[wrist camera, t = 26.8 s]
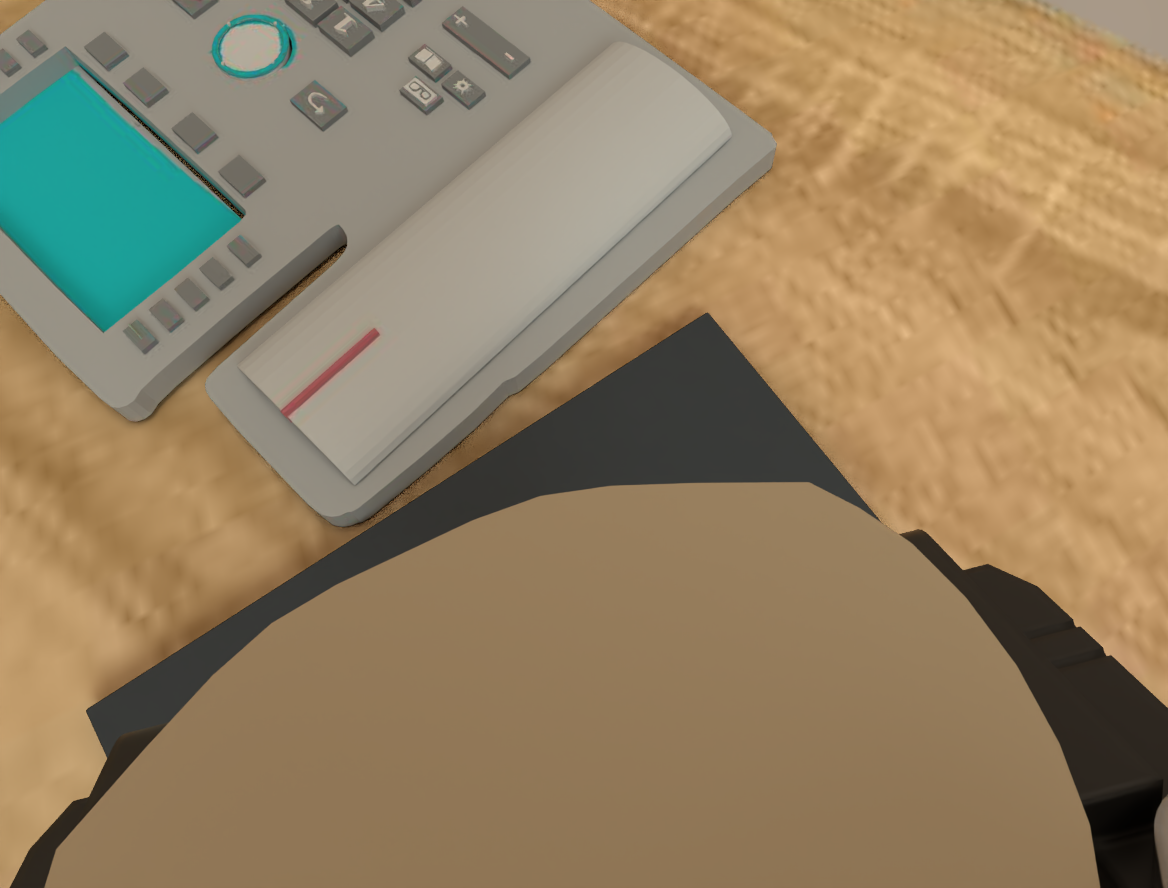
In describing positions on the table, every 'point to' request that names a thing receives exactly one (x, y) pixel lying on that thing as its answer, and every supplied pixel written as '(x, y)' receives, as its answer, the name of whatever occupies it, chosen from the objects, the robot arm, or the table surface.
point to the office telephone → (345, 208)
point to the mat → (540, 487)
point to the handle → (611, 719)
